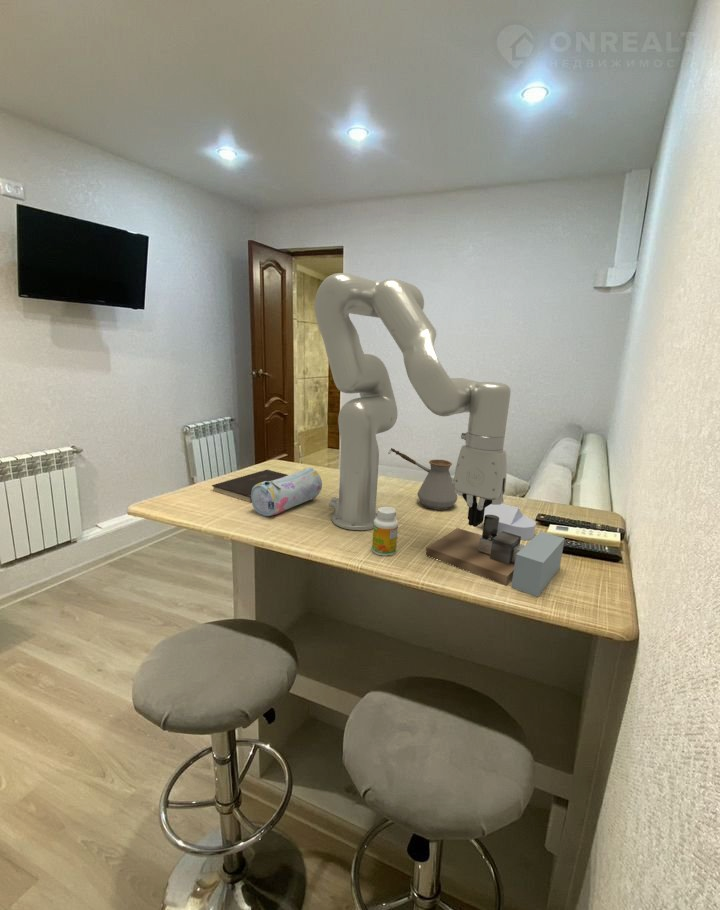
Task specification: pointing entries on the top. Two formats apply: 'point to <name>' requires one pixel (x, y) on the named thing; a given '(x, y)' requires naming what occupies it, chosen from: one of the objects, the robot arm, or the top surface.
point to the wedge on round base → (512, 520)
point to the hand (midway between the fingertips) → (474, 524)
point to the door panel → (477, 554)
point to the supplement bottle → (385, 532)
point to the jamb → (537, 563)
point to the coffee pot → (435, 484)
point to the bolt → (490, 532)
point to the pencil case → (285, 492)
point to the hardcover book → (246, 484)
